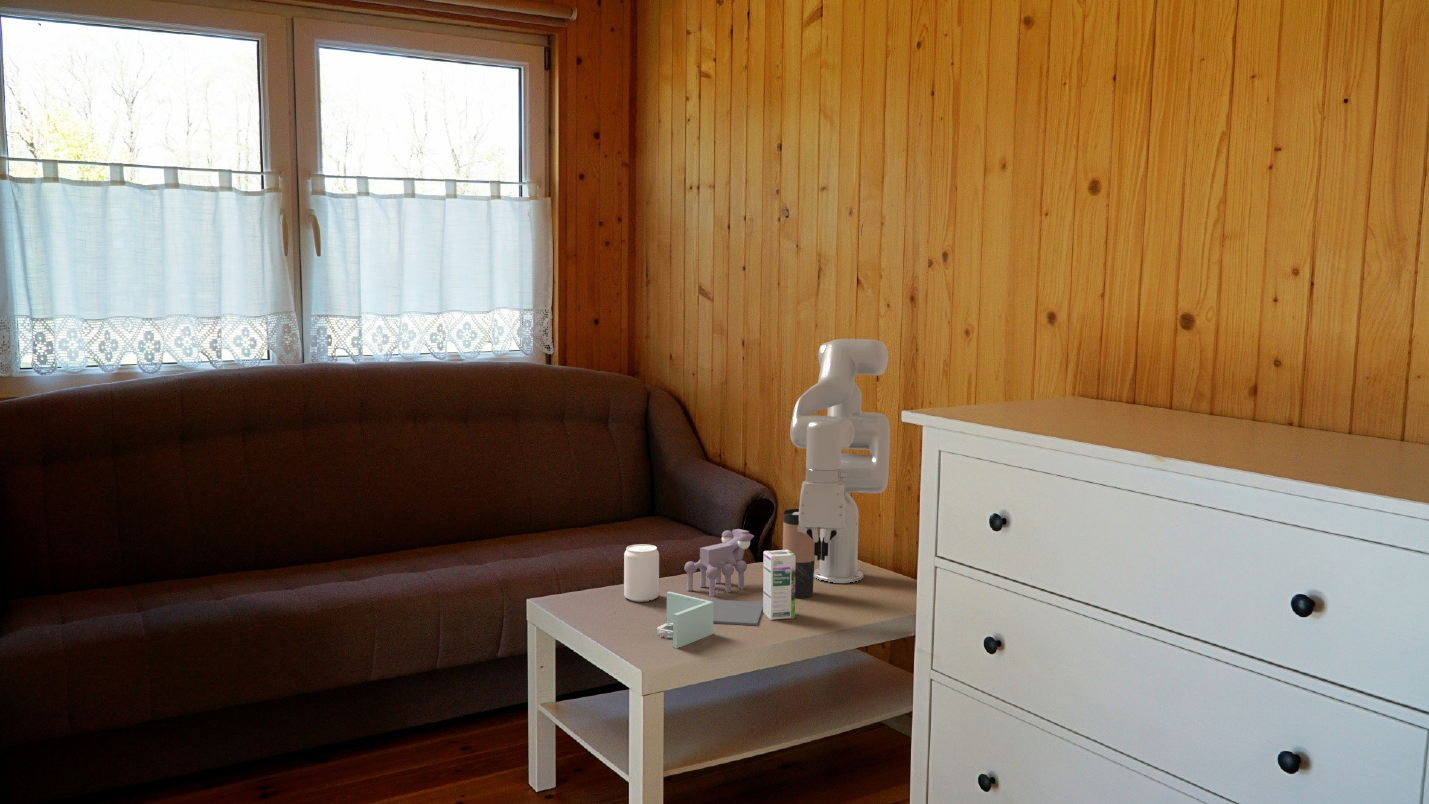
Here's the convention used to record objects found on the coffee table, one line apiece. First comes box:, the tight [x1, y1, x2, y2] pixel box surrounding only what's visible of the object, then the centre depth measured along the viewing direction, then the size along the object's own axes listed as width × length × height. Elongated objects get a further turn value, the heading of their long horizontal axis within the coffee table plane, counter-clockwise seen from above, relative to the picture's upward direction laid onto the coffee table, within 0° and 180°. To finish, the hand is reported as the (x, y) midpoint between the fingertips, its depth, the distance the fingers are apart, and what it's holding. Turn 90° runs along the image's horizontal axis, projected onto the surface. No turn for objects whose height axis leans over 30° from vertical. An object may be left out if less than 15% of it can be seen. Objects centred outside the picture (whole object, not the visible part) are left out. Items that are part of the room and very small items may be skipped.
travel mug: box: [782, 508, 816, 599], centre depth 255 cm, size 8×8×20 cm
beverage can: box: [623, 543, 660, 603], centre depth 251 cm, size 8×8×12 cm
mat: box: [665, 598, 763, 627], centre depth 241 cm, size 16×20×1 cm
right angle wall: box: [656, 591, 714, 649], centre depth 225 cm, size 12×12×8 cm
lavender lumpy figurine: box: [684, 528, 755, 598], centre depth 262 cm, size 20×11×14 cm, turn 135°
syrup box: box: [762, 549, 796, 621], centre depth 238 cm, size 6×6×14 cm
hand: (821, 559), depth 236 cm, fingers closed
